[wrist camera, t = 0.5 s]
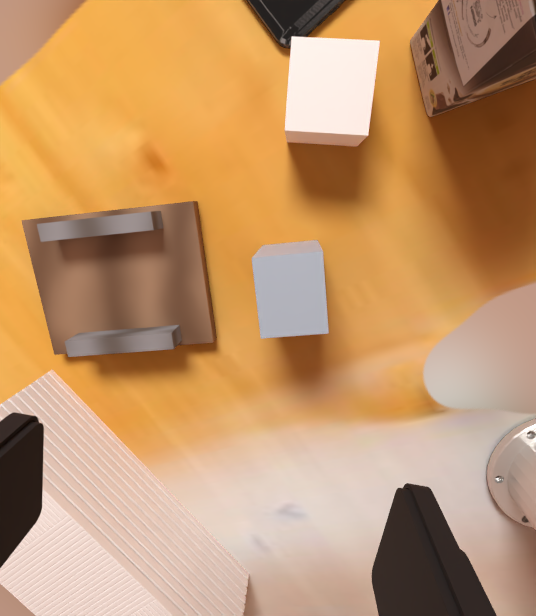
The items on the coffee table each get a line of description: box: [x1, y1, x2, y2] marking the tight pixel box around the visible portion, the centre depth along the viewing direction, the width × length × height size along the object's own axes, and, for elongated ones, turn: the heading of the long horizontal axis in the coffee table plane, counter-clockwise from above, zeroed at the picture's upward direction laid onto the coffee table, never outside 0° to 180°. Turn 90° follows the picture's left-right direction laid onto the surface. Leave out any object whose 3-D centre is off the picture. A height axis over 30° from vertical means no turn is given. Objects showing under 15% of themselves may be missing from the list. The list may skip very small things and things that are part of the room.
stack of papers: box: [0, 370, 249, 616], centre depth 41 cm, size 32×11×11 cm, turn 39°
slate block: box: [252, 240, 329, 338], centre depth 34 cm, size 5×6×9 cm
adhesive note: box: [285, 36, 380, 147], centre depth 31 cm, size 6×6×6 cm
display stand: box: [22, 201, 217, 357], centre depth 37 cm, size 16×13×4 cm
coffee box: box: [410, 0, 536, 117], centre depth 25 cm, size 9×6×16 cm
